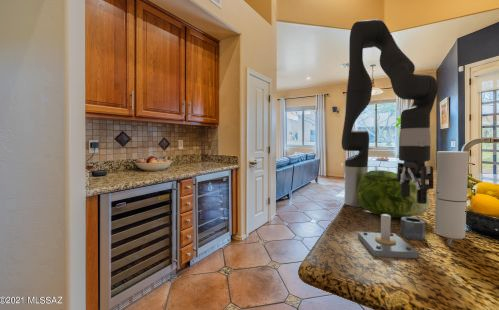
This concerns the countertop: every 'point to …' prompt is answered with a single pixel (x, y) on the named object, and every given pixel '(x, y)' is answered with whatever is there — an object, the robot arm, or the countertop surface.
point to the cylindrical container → (451, 194)
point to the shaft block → (387, 242)
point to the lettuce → (388, 195)
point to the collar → (412, 228)
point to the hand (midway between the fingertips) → (413, 199)
